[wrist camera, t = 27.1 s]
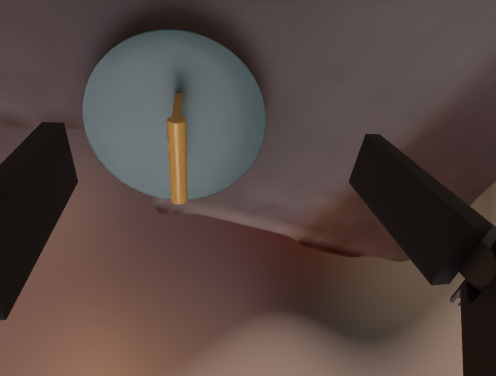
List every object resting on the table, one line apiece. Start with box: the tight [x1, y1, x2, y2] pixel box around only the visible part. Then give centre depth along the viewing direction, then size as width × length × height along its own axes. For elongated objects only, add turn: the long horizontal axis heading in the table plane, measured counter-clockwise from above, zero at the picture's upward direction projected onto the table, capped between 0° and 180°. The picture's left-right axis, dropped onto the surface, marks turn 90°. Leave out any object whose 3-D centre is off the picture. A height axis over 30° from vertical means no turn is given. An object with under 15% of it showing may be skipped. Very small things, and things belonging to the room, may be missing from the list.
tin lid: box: [82, 29, 266, 205], centre depth 26 cm, size 17×17×8 cm
